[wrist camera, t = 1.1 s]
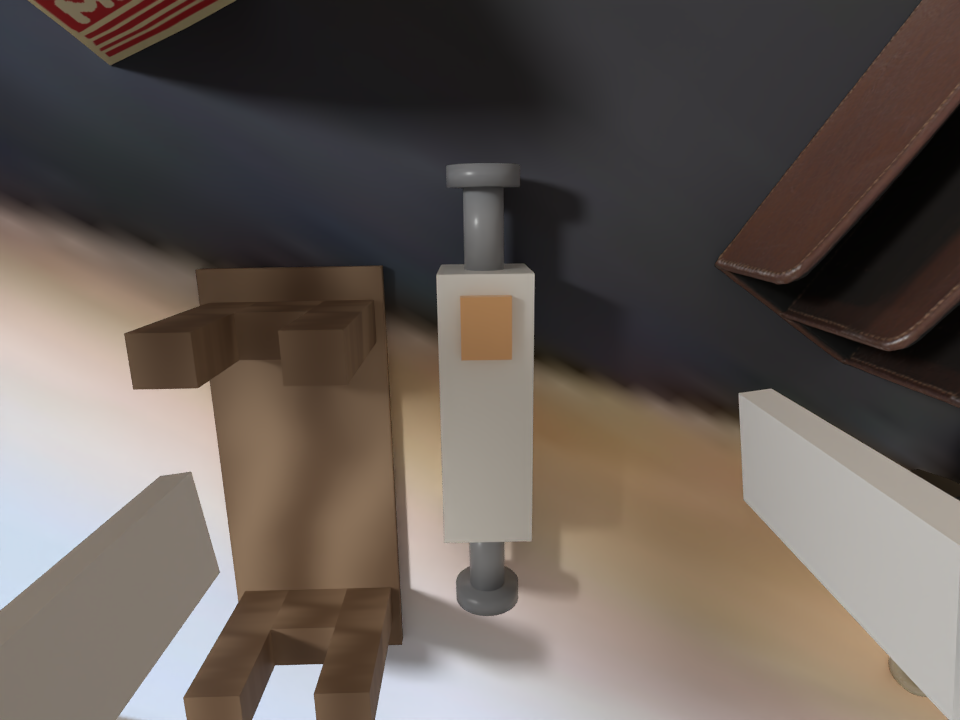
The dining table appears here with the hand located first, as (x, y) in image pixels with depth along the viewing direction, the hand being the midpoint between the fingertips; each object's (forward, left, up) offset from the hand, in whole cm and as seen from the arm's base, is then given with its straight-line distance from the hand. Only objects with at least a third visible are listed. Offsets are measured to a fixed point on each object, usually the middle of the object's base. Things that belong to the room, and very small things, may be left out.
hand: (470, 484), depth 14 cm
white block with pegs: (+1, -4, -21) cm, 21 cm away
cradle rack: (-10, -9, -20) cm, 24 cm away
